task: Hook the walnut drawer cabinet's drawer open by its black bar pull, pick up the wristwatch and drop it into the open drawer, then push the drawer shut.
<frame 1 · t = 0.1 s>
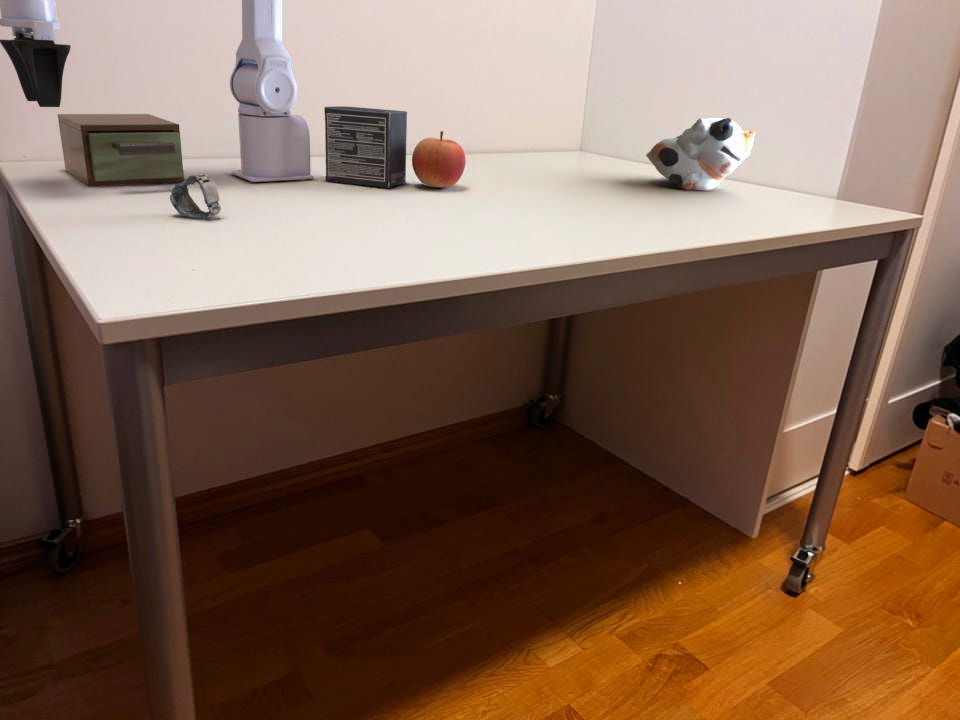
hand: (43, 103, 91), 10 cm above the table, tool pointing down, fingers open, 7 cm apart
cabinet: (124, 175, 106), on the table
apple: (437, 188, 112), on the table
wristwatch: (195, 218, 85), on the table
small box: (366, 183, 113), on the table
lucky cat figurine: (694, 186, 129), on the table
drawer: (130, 152, 101), point 4 cm above the table, slide at 0.5 cm
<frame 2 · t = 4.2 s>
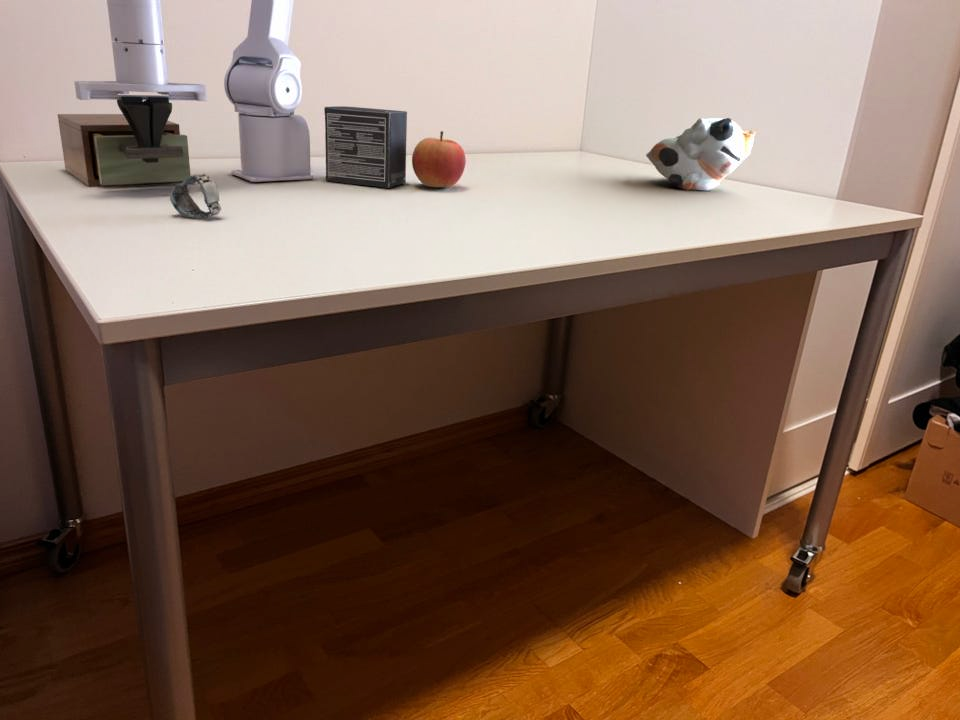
hand: (150, 161, 95), 4 cm above the table, tool pointing down, fingers closed, pressing on drawer
drawer: (137, 155, 99), point 4 cm above the table, slide at 3.6 cm, touching gripper
everything else where it was.
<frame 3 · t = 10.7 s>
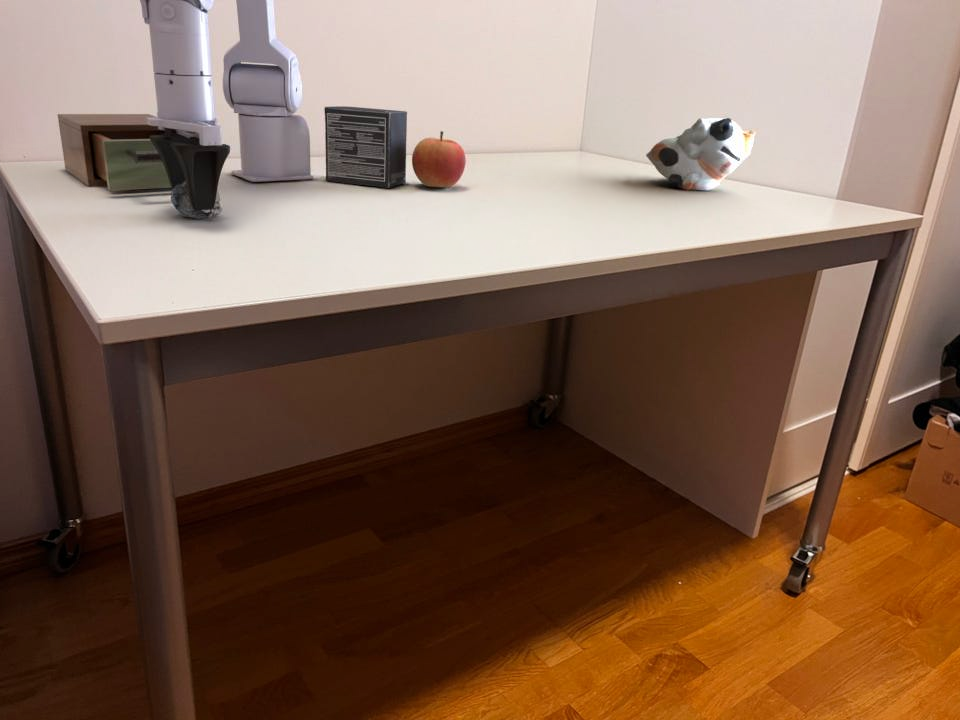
hand: (194, 204, 85), 1 cm above the table, tool pointing down, fingers closed on wristwatch, 5 cm apart
wristwatch: (196, 219, 85), on the table, touching gripper
drawer: (145, 160, 96), point 4 cm above the table, slide at 7.4 cm
everything else where it was.
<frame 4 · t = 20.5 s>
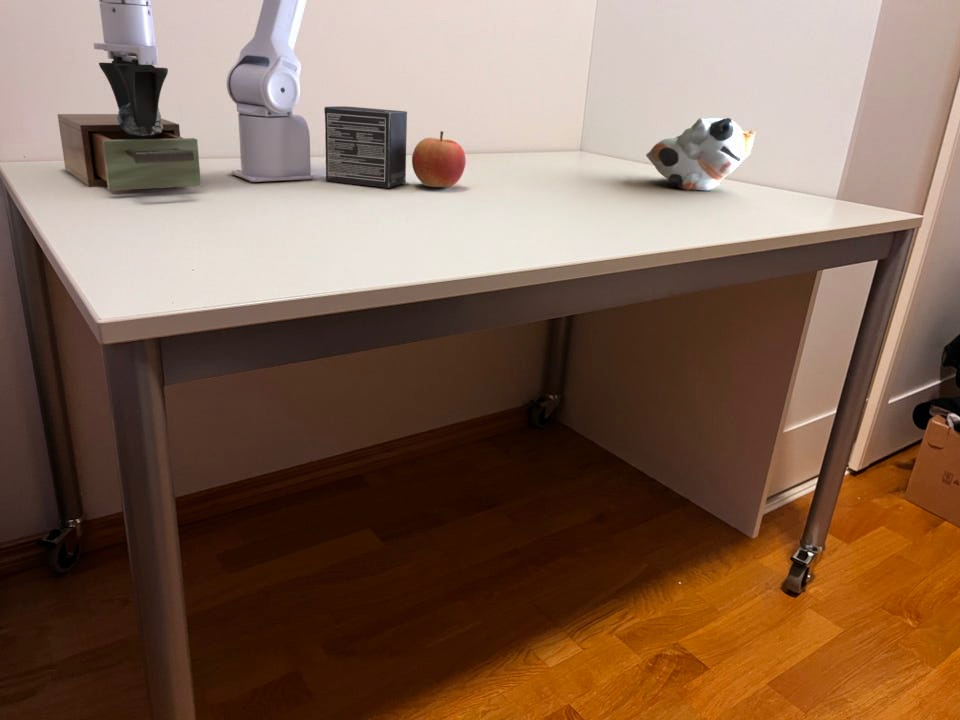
hand: (138, 123, 96), 8 cm above the table, tool pointing down, fingers closed on wristwatch, 5 cm apart
wristwatch: (140, 137, 96), point 6 cm above the table, touching gripper
everything else where it was.
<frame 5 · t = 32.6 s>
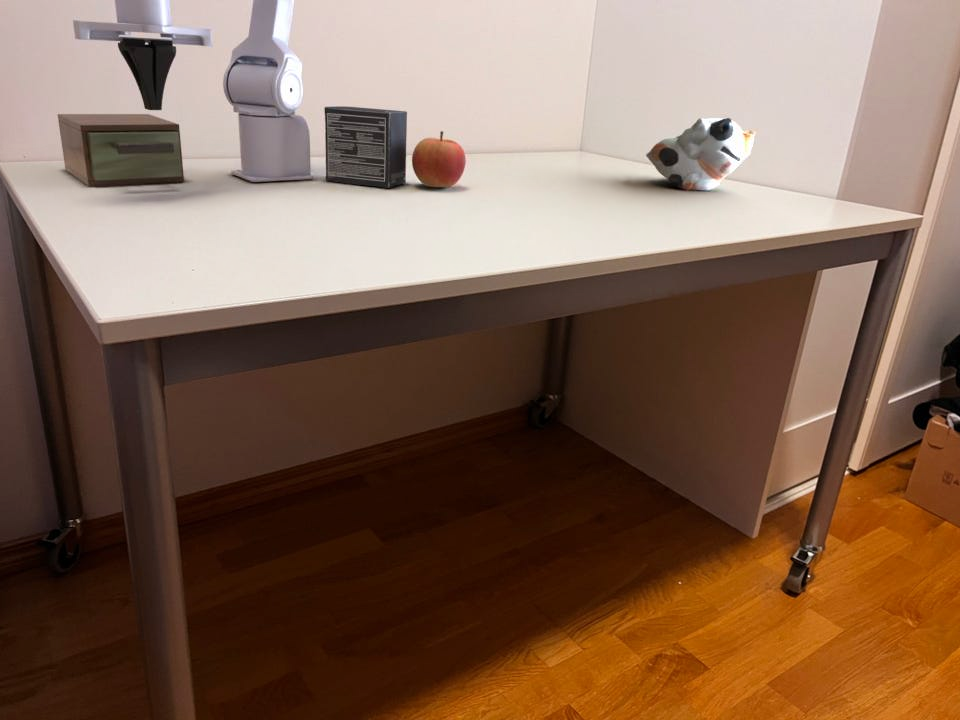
hand: (153, 109, 90), 10 cm above the table, tool pointing down, fingers closed
wristwatch: (128, 165, 103), point 2 cm above the table, touching drawer
drawer: (129, 152, 101), point 4 cm above the table, slide at 0.0 cm, touching wristwatch
everything else where it was.
at the end: drawer pulled out 7.4 cm at the most during the clip, back to where it started at the end; wristwatch inside the target area in the cabinet (3.0 cm from its centre), point 1.8 cm above the cabinet's base; drawer slide at 0.0 cm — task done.
